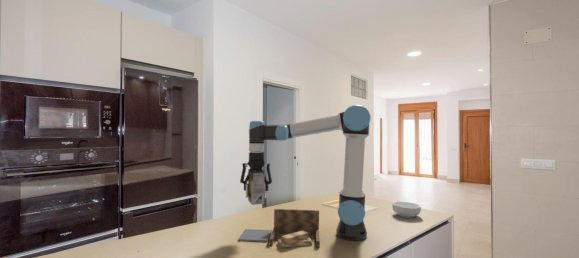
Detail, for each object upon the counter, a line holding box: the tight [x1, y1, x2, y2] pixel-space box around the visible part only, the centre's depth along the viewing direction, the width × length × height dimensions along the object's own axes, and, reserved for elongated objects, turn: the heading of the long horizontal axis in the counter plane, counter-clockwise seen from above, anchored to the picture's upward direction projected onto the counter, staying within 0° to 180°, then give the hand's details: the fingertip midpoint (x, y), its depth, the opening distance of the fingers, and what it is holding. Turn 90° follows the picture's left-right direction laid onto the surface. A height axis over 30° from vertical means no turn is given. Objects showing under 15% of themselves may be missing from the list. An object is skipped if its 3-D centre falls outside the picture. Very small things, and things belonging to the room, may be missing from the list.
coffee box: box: [247, 168, 266, 206], centre depth 143 cm, size 9×6×16 cm
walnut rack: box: [268, 208, 321, 249], centre depth 139 cm, size 23×18×12 cm
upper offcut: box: [280, 231, 309, 244], centre depth 133 cm, size 13×4×2 cm, turn 127°
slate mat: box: [237, 228, 273, 243], centre depth 143 cm, size 14×14×1 cm
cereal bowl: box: [391, 201, 422, 219], centre depth 180 cm, size 17×17×7 cm
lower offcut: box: [277, 236, 313, 248], centre depth 133 cm, size 15×4×2 cm, turn 102°
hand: (255, 197), depth 143 cm, fingers closed on coffee box, 8 cm apart
